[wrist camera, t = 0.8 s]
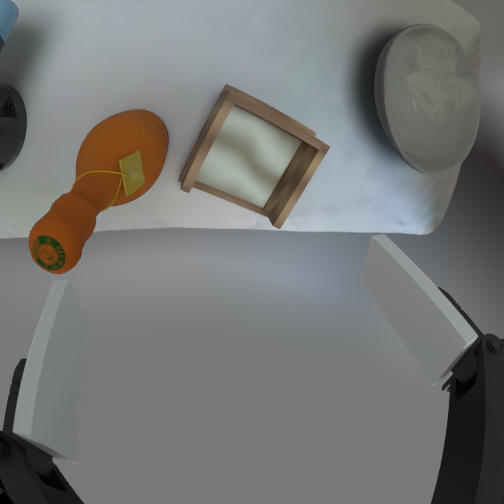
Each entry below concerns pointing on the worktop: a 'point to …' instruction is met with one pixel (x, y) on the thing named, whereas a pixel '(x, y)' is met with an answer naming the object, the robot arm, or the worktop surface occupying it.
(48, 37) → the worktop surface
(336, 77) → the worktop surface
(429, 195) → the worktop surface
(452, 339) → the robot arm
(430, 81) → the bowl
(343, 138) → the worktop surface
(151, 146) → the wine bottle
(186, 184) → the walnut U-rest
